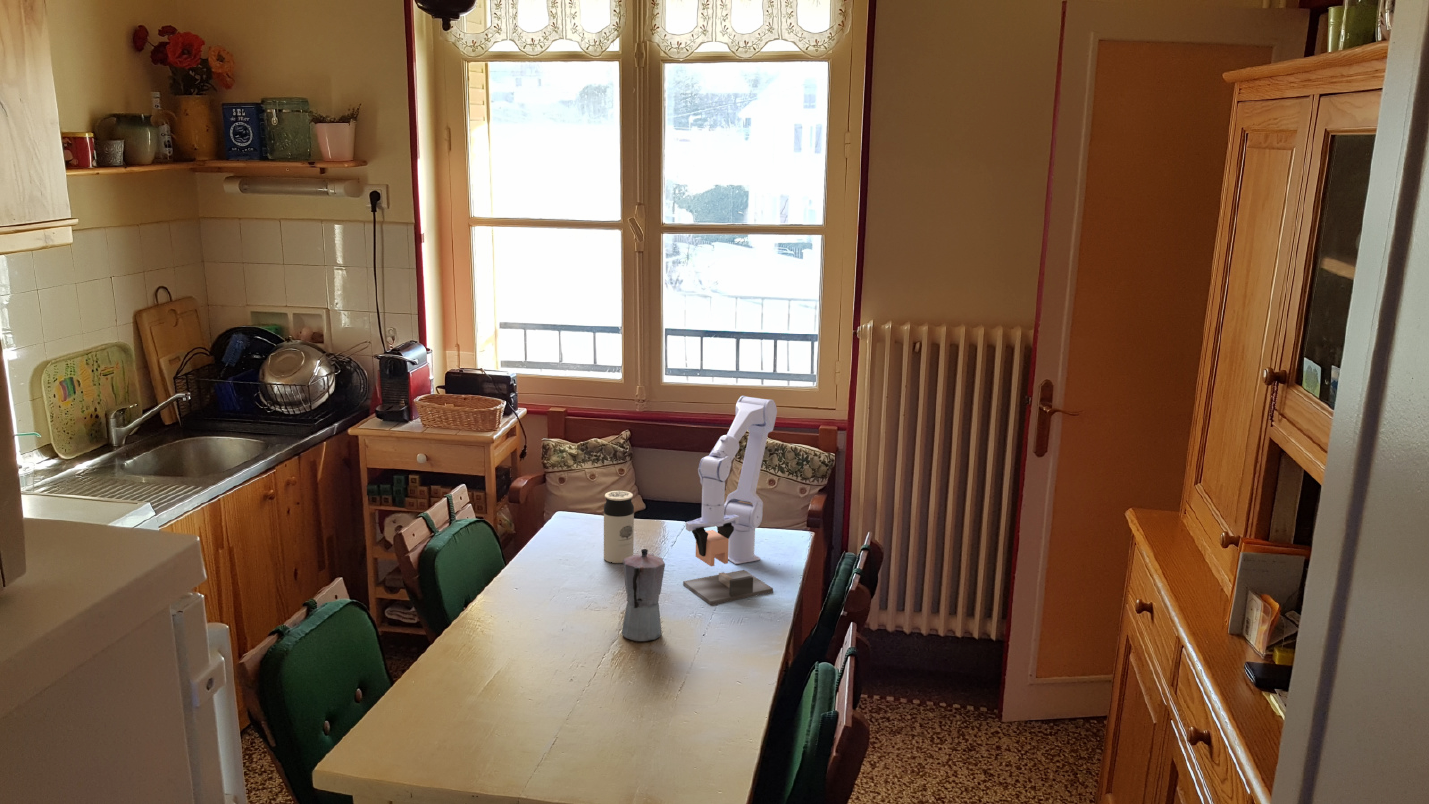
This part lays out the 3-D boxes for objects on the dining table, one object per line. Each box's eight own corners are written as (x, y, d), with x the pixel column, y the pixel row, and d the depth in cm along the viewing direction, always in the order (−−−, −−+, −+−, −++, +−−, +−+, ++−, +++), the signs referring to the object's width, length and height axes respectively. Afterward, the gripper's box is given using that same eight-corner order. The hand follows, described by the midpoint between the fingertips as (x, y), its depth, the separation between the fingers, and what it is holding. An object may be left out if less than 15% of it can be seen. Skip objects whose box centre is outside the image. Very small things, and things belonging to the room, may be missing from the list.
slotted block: (695, 556, 271) (696, 532, 270) (712, 553, 273) (712, 529, 272) (710, 566, 264) (711, 542, 263) (727, 563, 267) (728, 539, 265)
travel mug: (599, 555, 283) (599, 492, 279) (627, 551, 286) (627, 488, 282) (609, 565, 276) (609, 500, 272) (637, 561, 279) (638, 497, 275)
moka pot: (668, 622, 242) (669, 540, 238) (658, 652, 227) (659, 565, 223) (627, 620, 243) (628, 538, 239) (614, 649, 228) (615, 562, 224)
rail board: (683, 585, 264) (683, 566, 263) (744, 573, 273) (744, 555, 272) (710, 605, 252) (710, 585, 251) (773, 592, 261) (773, 573, 260)
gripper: (695, 511, 259) (694, 562, 261) (745, 503, 266) (744, 553, 269) (682, 503, 265) (681, 553, 267) (731, 495, 272) (730, 545, 275)
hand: (711, 553), depth 268 cm, fingers closed on slotted block, 5 cm apart
